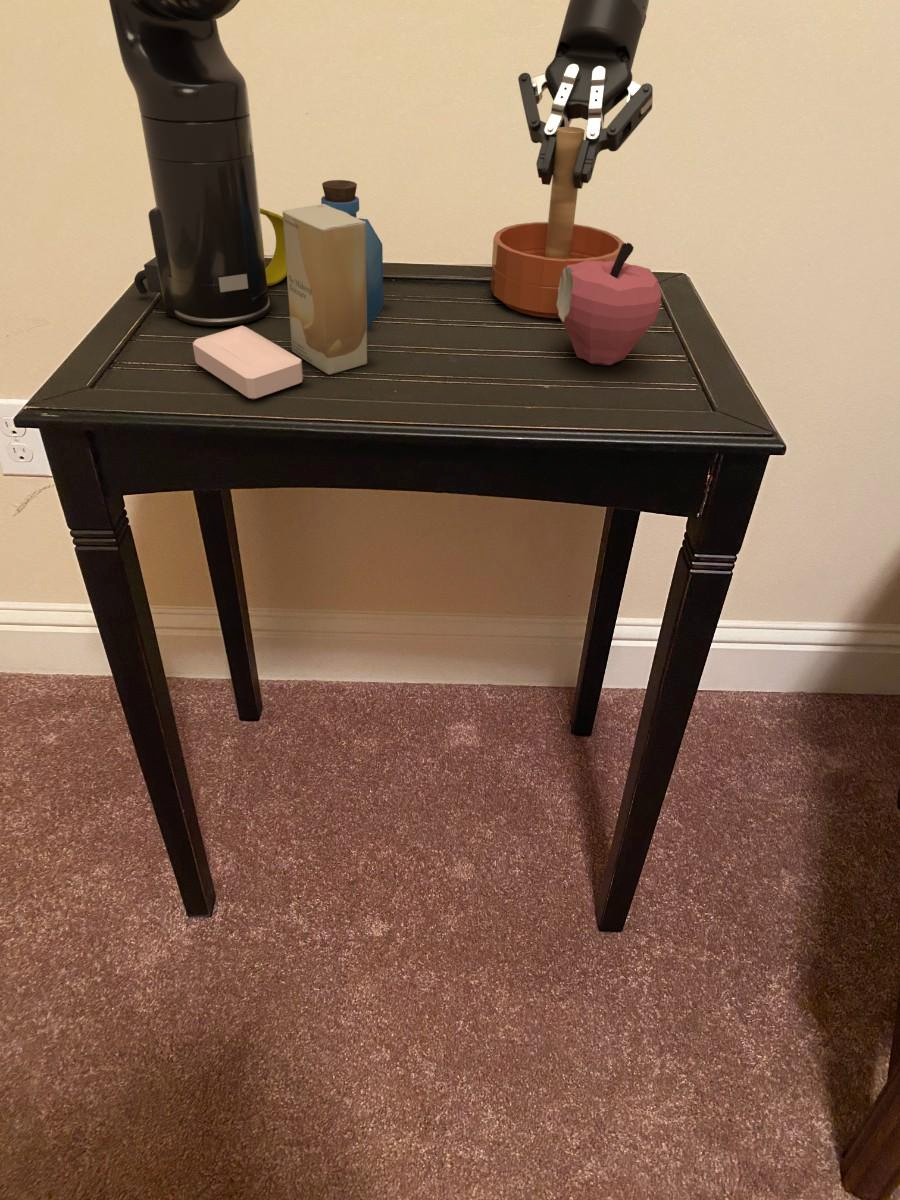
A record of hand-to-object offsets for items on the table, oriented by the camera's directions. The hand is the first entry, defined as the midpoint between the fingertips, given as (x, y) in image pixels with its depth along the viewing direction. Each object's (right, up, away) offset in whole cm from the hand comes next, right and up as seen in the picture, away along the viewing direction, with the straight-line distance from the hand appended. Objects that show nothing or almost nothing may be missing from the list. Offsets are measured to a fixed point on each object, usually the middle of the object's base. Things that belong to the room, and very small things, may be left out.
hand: (561, 180), depth 81 cm
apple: (+3, -18, -3) cm, 19 cm away
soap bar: (-28, -21, -8) cm, 36 cm away
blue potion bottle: (-21, -12, +4) cm, 24 cm away
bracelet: (-32, -2, +10) cm, 34 cm away
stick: (0, -7, +8) cm, 10 cm away
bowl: (0, -8, +9) cm, 12 cm away
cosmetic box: (-21, -19, -5) cm, 29 cm away
